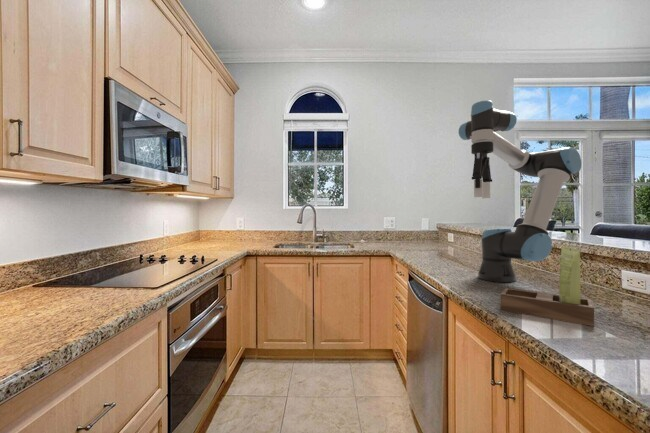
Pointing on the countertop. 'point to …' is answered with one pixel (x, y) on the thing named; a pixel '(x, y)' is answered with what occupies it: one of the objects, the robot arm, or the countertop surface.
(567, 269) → the tube
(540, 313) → the brown wooden slotted holder
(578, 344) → the countertop surface
